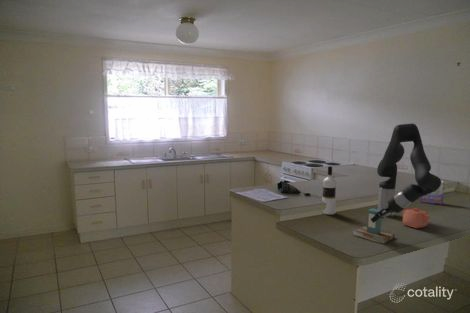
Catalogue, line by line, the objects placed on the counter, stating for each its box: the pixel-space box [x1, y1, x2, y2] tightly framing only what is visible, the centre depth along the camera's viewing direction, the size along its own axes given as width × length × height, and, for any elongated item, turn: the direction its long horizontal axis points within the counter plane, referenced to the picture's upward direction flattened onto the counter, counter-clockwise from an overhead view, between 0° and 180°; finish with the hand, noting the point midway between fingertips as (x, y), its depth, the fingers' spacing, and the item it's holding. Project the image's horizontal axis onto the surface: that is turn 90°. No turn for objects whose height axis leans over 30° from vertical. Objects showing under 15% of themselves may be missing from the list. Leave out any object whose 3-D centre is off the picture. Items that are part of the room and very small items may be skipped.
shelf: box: [352, 225, 396, 244], centre depth 177 cm, size 13×16×3 cm
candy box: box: [419, 180, 445, 206], centre depth 245 cm, size 14×6×16 cm, turn 58°
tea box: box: [366, 208, 382, 235], centre depth 176 cm, size 5×5×12 cm
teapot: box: [402, 207, 431, 229], centre depth 195 cm, size 12×18×10 cm, turn 29°
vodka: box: [321, 166, 337, 216], centre depth 217 cm, size 9×9×30 cm
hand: (376, 219), depth 175 cm, fingers open, 8 cm apart
